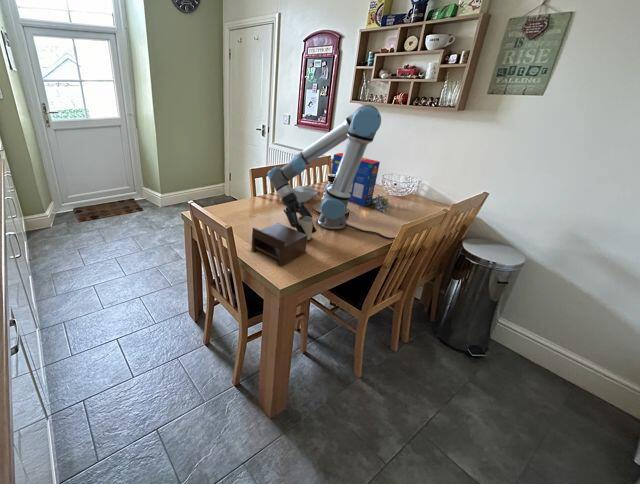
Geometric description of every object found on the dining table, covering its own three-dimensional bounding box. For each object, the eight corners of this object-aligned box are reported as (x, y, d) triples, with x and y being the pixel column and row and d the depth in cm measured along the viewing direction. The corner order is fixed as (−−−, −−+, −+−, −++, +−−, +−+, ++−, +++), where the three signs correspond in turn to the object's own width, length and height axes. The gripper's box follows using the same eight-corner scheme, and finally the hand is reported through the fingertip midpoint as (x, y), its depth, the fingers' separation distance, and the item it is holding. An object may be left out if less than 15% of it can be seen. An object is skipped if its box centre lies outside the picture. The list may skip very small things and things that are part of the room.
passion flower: (380, 220, 202) (380, 209, 193) (366, 211, 209) (365, 200, 199) (392, 208, 204) (393, 196, 194) (377, 199, 210) (377, 188, 201)
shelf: (276, 238, 165) (277, 217, 160) (305, 252, 154) (308, 229, 149) (251, 250, 154) (252, 227, 149) (281, 266, 142) (283, 241, 137)
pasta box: (371, 204, 212) (379, 161, 200) (364, 206, 207) (372, 163, 195) (335, 192, 231) (341, 152, 220) (328, 194, 227) (333, 154, 215)
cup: (311, 234, 169) (314, 217, 164) (310, 241, 162) (312, 223, 158) (297, 232, 171) (299, 214, 166) (295, 239, 164) (297, 220, 160)
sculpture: (299, 192, 229) (300, 179, 225) (323, 199, 217) (324, 185, 213) (276, 201, 212) (277, 187, 208) (301, 209, 200) (302, 194, 196)
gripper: (294, 194, 176) (316, 231, 172) (269, 203, 163) (292, 244, 159) (304, 187, 170) (326, 225, 167) (278, 196, 157) (302, 238, 154)
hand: (309, 234), depth 163 cm, fingers closed on cup, 8 cm apart
